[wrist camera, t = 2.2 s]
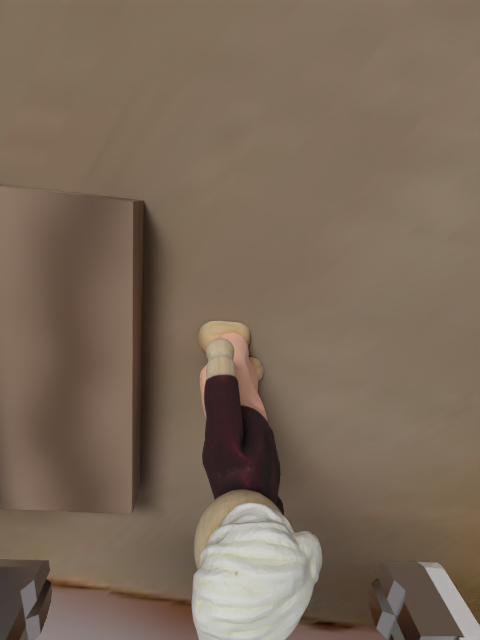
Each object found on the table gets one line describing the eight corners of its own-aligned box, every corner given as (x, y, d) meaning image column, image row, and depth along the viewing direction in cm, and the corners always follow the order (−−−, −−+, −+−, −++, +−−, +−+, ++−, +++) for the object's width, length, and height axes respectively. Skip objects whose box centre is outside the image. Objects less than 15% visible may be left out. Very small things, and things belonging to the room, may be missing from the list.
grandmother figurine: (166, 322, 18) (55, 579, 6) (231, 288, 17) (251, 494, 6) (235, 428, 20) (253, 758, 9) (294, 401, 20) (399, 710, 8)
